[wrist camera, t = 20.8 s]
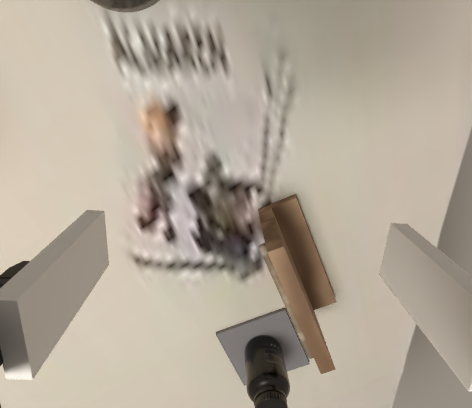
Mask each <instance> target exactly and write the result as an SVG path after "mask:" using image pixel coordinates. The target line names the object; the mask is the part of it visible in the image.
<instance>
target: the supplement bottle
mask: <svg viewBox="0 0 472 408" xmlns="http://www.w3.org/2000/svg"><path fill="white" fill-rule="evenodd" d="M244 355H245V370H246V384H247V393H248V395H249V397H250V399H251V400H252V401H253V402H254V405H255V408H288V407H287V399H286V398H287V396H288V394H289V391H290V384H289V379H288V374H287V369H286V365H285V360H284V356H283V351H282V347H281V345H280V344H279V342H278V341H277V340H275V339H274V338H271V337H267V336H261V337H257V338H254V339H253V340H251V341H250V342H249V343H248V344H247V346H246V348H245V353H244Z"/></svg>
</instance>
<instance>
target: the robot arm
mask: <svg viewBox="0 0 472 408" xmlns="http://www.w3.org/2000/svg"><path fill="white" fill-rule="evenodd" d="M91 1H93V2H94V3H96V4H98V5H100V6H102V7H104V8H107V9H109V10H113V11H118V12H135V11H140V10H143V9H146V8H148V7H150V6H152V5H154V4H155V3H157V2H158V1H159V0H91ZM108 265H109V261H108V249H107V237H106V226H105V214H104V211H95V210H87V211H86V212H84V213H83V214H82V215H81V216H80V217H79V218H78V219H77V220H76V221H74V222H73V223H72V224H71V225H70V226H69V227H68V228H67V229H66V230H64V231H63V232H62V233H61V234H60V235H59V236H58V237H57V238H56V239H54V240H53V241H52V242H51V243H50V244H49V245H48V246H47V247H46V248H45V249H43V250H42V251H41V252H40V253H39V254H38V255H37V256H36V257H35V258H33V259H32V260H31V261H22V262H20V263H18V264H16V265H14V266H12V267H10V268H8V269H7V270H6V271H5V272H4V273H3V274H1V275H0V366H1V365H2V363H3V368H4V372H5V376H6V379H26V380H33V378H34V377H35V375H36V374H37V372H38V371H39V369H40V368H41V366H42V365H43V363H44V362H45V360H46V359H47V357H48V356H49V354H50V353H51V351H52V350H53V348H54V347H55V345H56V344H57V342H58V341H59V339H60V338H61V336H62V335H63V333H64V332H65V330H66V329H67V327H68V326H69V324H70V323H71V321H72V320H73V318H74V317H75V315H76V313H77V312H78V310H79V309H80V307H81V306H82V304H83V303H84V301H85V300H86V298H87V297H88V295H89V294H90V292H91V291H92V289H93V288H94V286H95V285H96V283H97V282H98V280H99V279H100V277H101V276H102V274H103V273H104V271H105V270H106V268H107V267H108ZM379 275H380V277H381V278H382V279H383V281H384V282H385V283H386V285H387V286H388V287H389V288H390V290H391V291H392V292H393V294H394V295H395V296H396V298H397V299H398V300H399V302H400V303H401V304H402V305H403V307H404V308H405V309H406V311H407V312H408V313H409V315H410V316H411V317H412V319H413V320H414V321H415V322H416V324H417V325H418V326H419V328H420V329H421V330H422V332H423V333H424V334H425V335H426V337H427V338H428V339H429V341H430V342H431V343H432V345H433V346H434V347H435V349H436V350H437V351H438V352H439V354H440V355H441V356H442V358H443V359H444V360H445V362H446V363H447V364H448V365H449V367H450V368H451V369H452V371H453V372H454V373H455V375H456V376H457V377H458V378H459V380H460V381H461V382H462V384H463V385H464V386H465V388H466V389H467V390H468V391H472V276H471V275H469V274H468V273H467V272H466V271H464V270H463V269H462V268H461V267H459V266H458V265H457V264H456V263H455V262H453V261H452V260H451V259H450V258H448V257H447V256H446V255H445V254H443V253H442V252H441V251H440V250H438V249H437V248H436V247H435V246H434V245H432V244H431V243H430V242H429V241H427V240H426V239H425V238H424V237H422V236H421V235H420V234H419V233H418V232H416V231H415V230H414V229H413V228H411V227H410V226H409V225H408V224H397V223H391V224H390V229H389V233H388V238H387V242H386V247H385V251H384V255H383V260H382V264H381V269H380V273H379ZM0 408H1V405H0Z"/></svg>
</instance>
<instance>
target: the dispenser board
mask: <svg viewBox="0 0 472 408" xmlns="http://www.w3.org/2000/svg"><path fill="white" fill-rule="evenodd" d="M258 211H259V216H260V220H261V225H262V230H263V234H264V239H265V243H264V244H261V245H260V246H259V249H260V251H261V253H262V255H263V257H264V260H265V262H266V264H267V266H268V269H269V271H270V273H271V275H272V278H273V280H274V282H275V284H276V286H277V289H278V291H279V293H280V295H281V298H282V300H283V302H284V304H285V307H286V309H287V311H288V313H289V315H290V318H291V320H292V322H293V324H294V327H295V329H296V331H297V333H298V336H299V338H300V340H301V342H302V344H303V347H304V349H305V351H306V353H307V356H308V358H314V359H315V361H316V364H317V366H318V368H319V371H320V373H321V374H323V373H326V372H329V371H332V370H335V367H334V365H333V362H332V359H331V356H330V353H329V351H328V348H327V345H326V342H325V340H324V337H323V334H322V331H321V329H320V326H319V323H318V320H317V318H316V315H315V312H314V310H315V309H318V308H321V307H324V306H326V305H329V304H332V303H335V302H336V300H335V297H334V294H333V292H332V289H331V287H330V284H329V281H328V279H327V276H326V274H325V271H324V268H323V266H322V263H321V261H320V258H319V255H318V253H317V250H316V247H315V245H314V242H313V240H312V237H311V234H310V232H309V229H308V227H307V224H306V221H305V219H304V216H303V214H302V211H301V208H300V206H299V203H298V201H297V198H296V196H295V195H293V196H290V197H288V198H285V199H283V200H280V201H278V202H275V203H273V204H270V205H268V206H265V207H263V208H260V209H258Z"/></svg>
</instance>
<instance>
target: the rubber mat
mask: <svg viewBox="0 0 472 408" xmlns="http://www.w3.org/2000/svg"><path fill="white" fill-rule="evenodd" d="M216 336H217V337H218V339H219V341H220V343H221V345H222V346H223V348H224V350H225V352H226V354H227V355H228V357H229V359H230V361H231V363H232V364H233V366H234V368H235V370H236V372H237V374H238V375H239V377H240V379H241V381H242V383H243V384H244V386H245V385H247V384H246V370H245V355H244V353H245V348H246V346H247V344H248V343H249V342H250V341H251V340H253V339H254V338H257V337H261V336H267V337H271V338H274V339H275V340H277V341H278V342H279V344H280V345H281V347H282V351H283V356H284V360H285V365H286V369H287V371H290V370H293V369H296V368H299V367H302V366H305V365H308V364H309V360H308V358H307V356H306V354H305V352H304V349H303V347H302V345H301V343H300V340H299V338H298V336H297V334H296V332H295V329H294V327H293V325H292V323H291V320H290V318H289V316H288V314H287V312H286V309H285V308H282V309H280V310H277V311H274V312H271V313H268V314H266V315H263V316H260V317H257V318H255V319H252V320H249V321H246V322H243V323H241V324H238V325H235V326H232V327H229V328H227V329H224V330H221V331H218V332H216Z"/></svg>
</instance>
